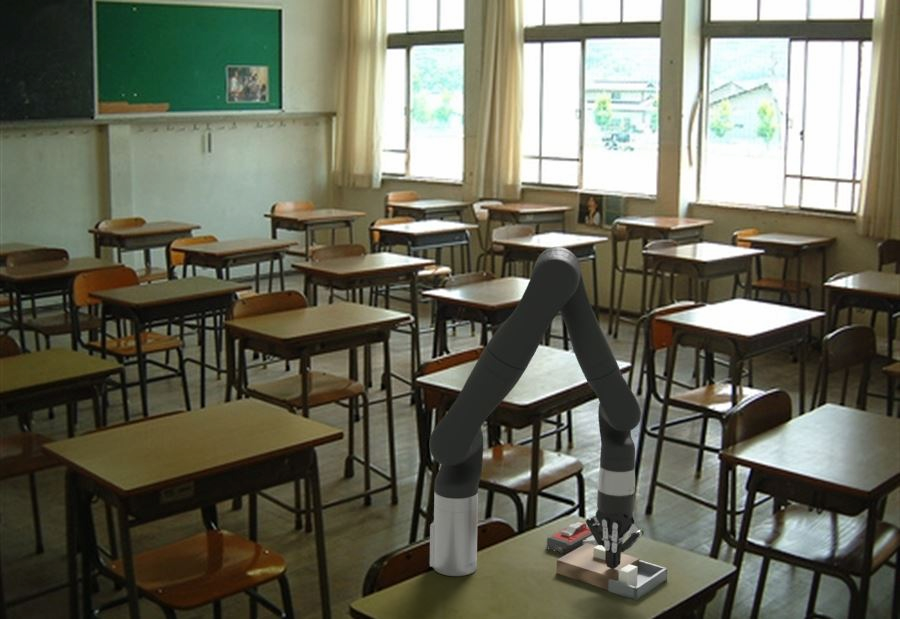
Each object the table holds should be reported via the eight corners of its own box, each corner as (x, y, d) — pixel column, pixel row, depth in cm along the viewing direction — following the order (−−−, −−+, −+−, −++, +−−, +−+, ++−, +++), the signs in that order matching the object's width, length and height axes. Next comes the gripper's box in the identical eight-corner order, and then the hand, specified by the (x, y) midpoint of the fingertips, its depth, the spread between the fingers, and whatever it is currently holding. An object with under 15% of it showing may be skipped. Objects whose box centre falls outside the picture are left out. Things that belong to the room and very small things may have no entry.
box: (608, 591, 232) (608, 579, 232) (639, 571, 242) (640, 560, 242) (636, 600, 229) (636, 588, 228) (666, 579, 238) (667, 568, 238)
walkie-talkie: (574, 561, 248) (621, 535, 263) (575, 542, 247) (622, 516, 262) (541, 551, 253) (589, 525, 269) (541, 532, 252) (589, 508, 268)
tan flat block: (556, 573, 241) (556, 559, 240) (586, 555, 250) (586, 542, 249) (609, 590, 233) (610, 576, 232) (638, 571, 242) (639, 558, 242)
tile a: (618, 570, 232) (627, 572, 231) (629, 564, 235) (637, 566, 234) (618, 588, 233) (626, 591, 231) (628, 582, 236) (637, 584, 234)
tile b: (593, 556, 242) (593, 547, 242) (603, 550, 245) (603, 542, 245) (609, 561, 240) (609, 552, 239) (619, 555, 243) (619, 547, 242)
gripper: (578, 485, 234) (575, 564, 237) (635, 500, 226) (631, 581, 229) (598, 476, 239) (594, 553, 243) (653, 490, 231) (649, 570, 235)
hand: (612, 566), depth 236 cm, fingers closed
